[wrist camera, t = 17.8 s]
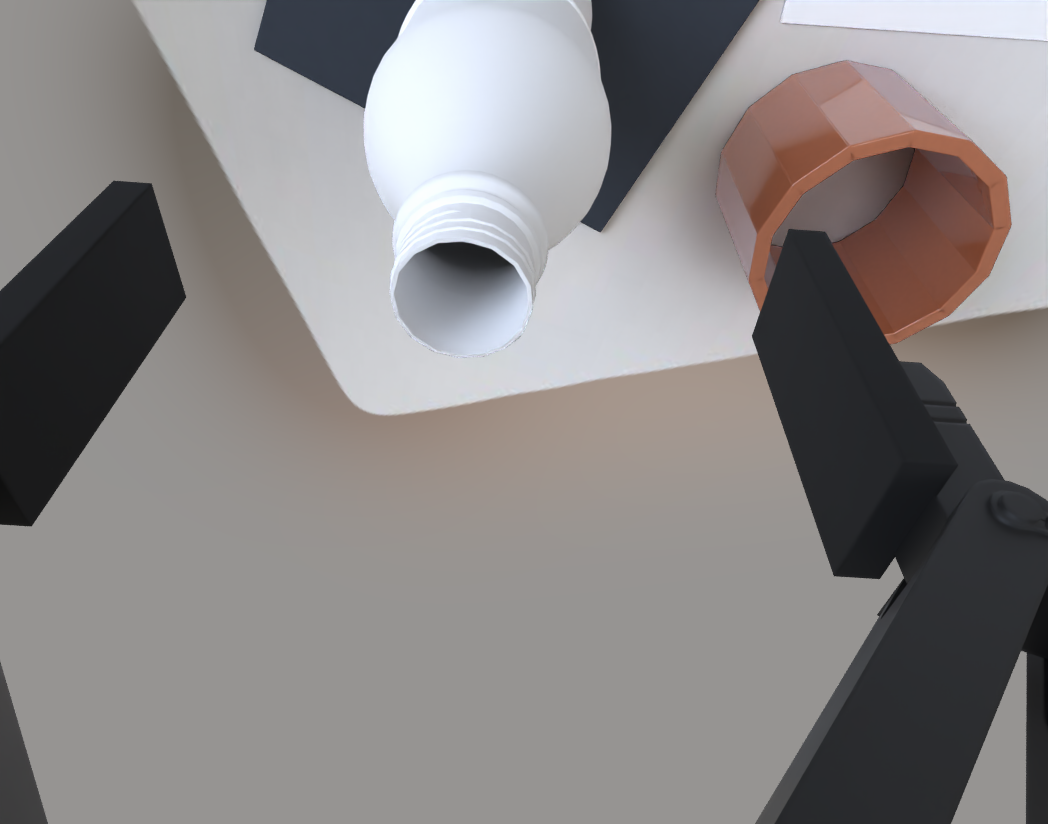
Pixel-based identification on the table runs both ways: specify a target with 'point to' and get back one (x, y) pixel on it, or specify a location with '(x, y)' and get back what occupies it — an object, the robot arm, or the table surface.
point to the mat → (620, 37)
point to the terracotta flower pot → (906, 222)
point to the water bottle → (484, 160)
